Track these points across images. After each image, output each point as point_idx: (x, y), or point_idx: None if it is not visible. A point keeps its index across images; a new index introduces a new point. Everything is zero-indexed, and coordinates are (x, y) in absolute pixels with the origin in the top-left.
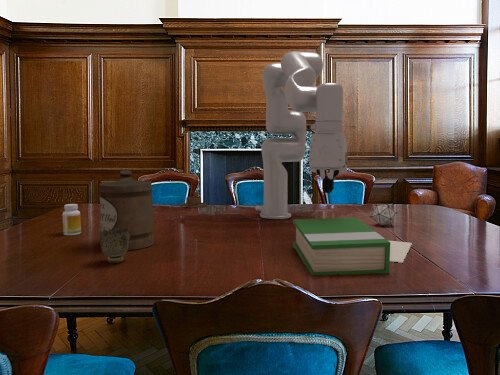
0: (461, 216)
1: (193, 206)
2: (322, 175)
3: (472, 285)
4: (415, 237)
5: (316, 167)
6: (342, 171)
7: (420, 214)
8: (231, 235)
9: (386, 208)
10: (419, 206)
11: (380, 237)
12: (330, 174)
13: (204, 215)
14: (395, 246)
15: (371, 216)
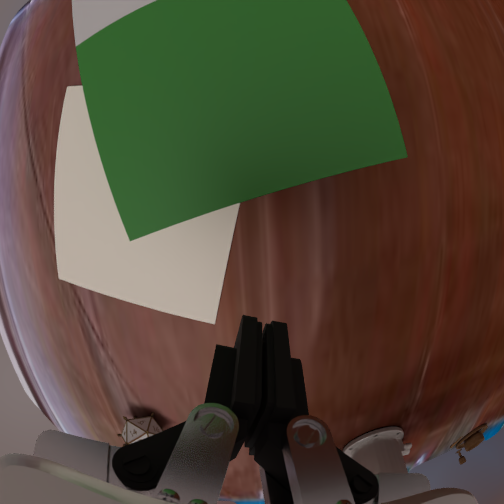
0: None
1: (476, 429)
2: (312, 449)
3: (18, 30)
4: (71, 336)
5: (414, 500)
6: (74, 448)
7: None
8: (489, 274)
9: (130, 441)
10: None
11: (79, 2)
12: (214, 450)
13: (481, 401)
14: (78, 233)
15: None
